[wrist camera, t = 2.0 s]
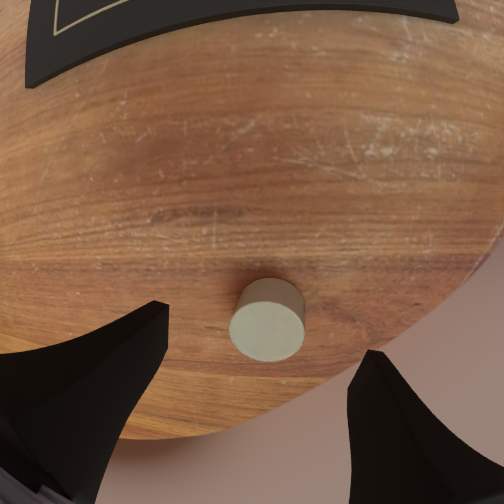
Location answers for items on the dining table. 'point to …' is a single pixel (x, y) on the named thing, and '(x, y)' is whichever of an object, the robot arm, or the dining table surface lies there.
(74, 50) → the board
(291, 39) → the dining table surface
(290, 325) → the cylinder
